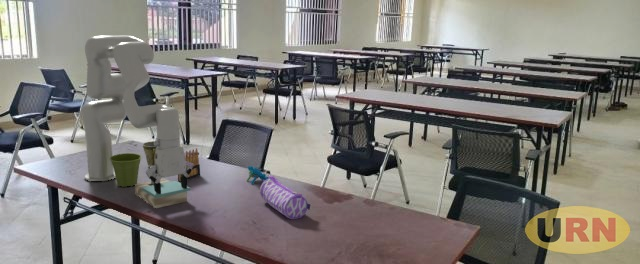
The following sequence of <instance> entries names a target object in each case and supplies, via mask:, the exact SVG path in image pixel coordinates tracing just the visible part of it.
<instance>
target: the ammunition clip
mask: <svg viewBox="0 0 640 264" xmlns="http://www.w3.org/2000/svg"><path fill="white" fill-rule="evenodd" d="M184 154H185V159H186V161H188V162H190V163H193V164H194V165H193V168H192V171H191V172H190V174H189V176H188V177H187V181H189V180H192V179H195V178H198V177H201V166H200V161H199V152H198V148H195V149H194V148H193V149H192V150H191V149H189V152H188V151H187V150H186V151H185V152H184ZM187 168H188V165H186V169H187ZM181 176H182V174H180V175H177V182H179V181H180V182H179V183H181Z"/></svg>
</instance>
